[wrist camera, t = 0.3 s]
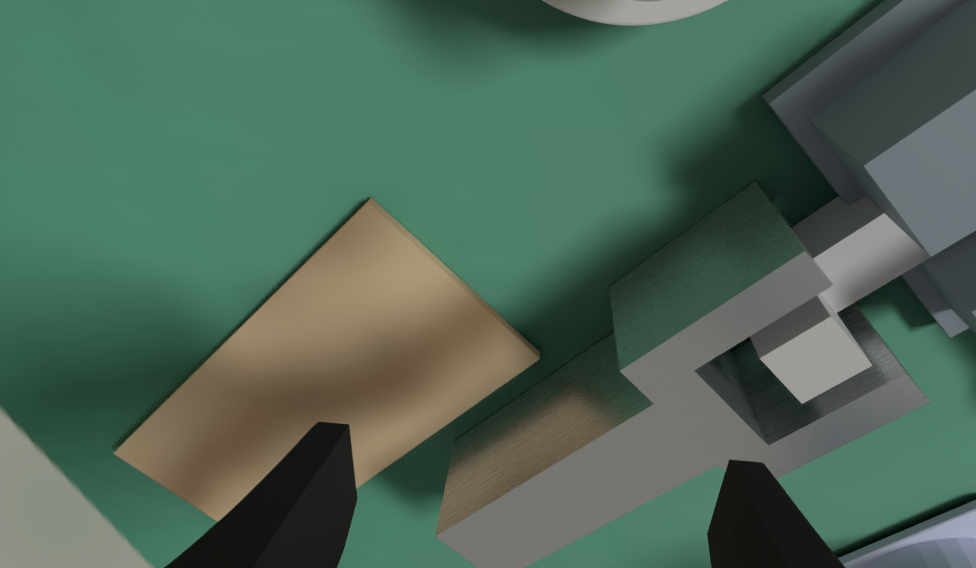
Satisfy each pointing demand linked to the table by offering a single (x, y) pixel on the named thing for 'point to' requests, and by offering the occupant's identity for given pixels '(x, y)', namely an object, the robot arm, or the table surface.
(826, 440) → the steel fork
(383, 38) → the table surface
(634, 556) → the table surface
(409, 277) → the cork mat
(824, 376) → the vise
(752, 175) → the table surface
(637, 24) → the wall hook
